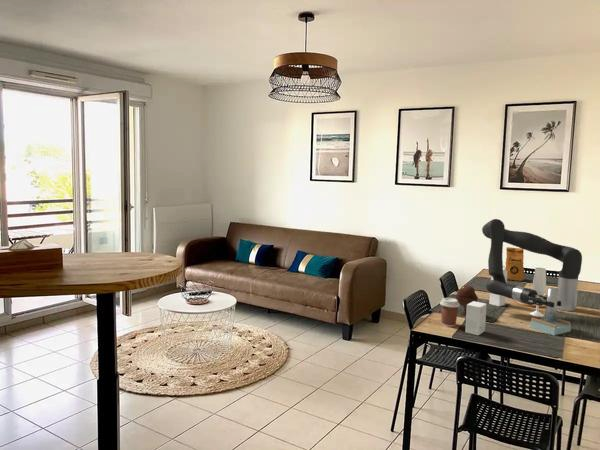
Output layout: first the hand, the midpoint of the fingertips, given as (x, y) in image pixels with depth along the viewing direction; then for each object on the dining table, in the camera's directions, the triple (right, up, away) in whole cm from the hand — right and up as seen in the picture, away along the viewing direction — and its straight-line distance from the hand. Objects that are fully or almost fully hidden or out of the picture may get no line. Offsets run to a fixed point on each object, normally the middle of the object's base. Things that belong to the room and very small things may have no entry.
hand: (557, 304), depth 221 cm
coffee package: (+27, -1, +107) cm, 110 cm away
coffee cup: (-47, -11, +8) cm, 49 cm away
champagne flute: (+4, -10, +27) cm, 29 cm away
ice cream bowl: (-34, -9, +25) cm, 43 cm away
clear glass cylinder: (-2, -8, +3) cm, 9 cm away
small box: (-38, -12, -2) cm, 40 cm away
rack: (-1, -12, +4) cm, 13 cm away
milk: (-9, -7, +45) cm, 46 cm away
